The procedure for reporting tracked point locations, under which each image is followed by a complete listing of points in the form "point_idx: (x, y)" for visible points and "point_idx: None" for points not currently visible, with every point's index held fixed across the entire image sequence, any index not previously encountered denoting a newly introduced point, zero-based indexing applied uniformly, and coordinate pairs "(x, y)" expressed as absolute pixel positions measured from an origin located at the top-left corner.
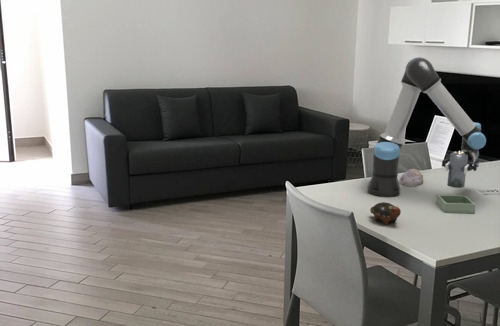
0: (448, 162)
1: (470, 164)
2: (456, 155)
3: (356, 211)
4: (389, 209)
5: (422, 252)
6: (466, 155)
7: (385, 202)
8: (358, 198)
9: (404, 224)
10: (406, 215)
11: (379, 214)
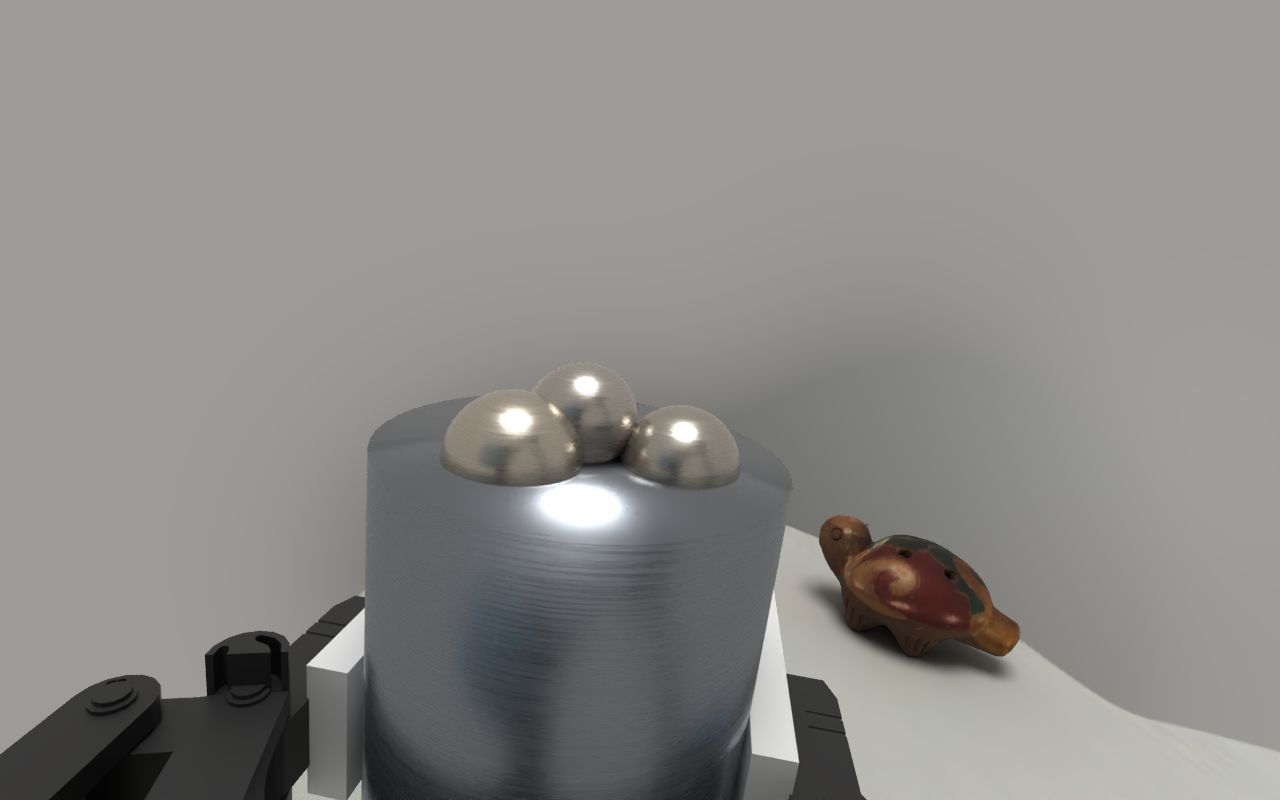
0: (782, 704)
1: (275, 658)
2: (640, 408)
3: (1132, 717)
4: (877, 541)
5: None
6: (435, 409)
7: (936, 557)
8: None
9: (800, 620)
10: (861, 734)
11: (904, 557)
